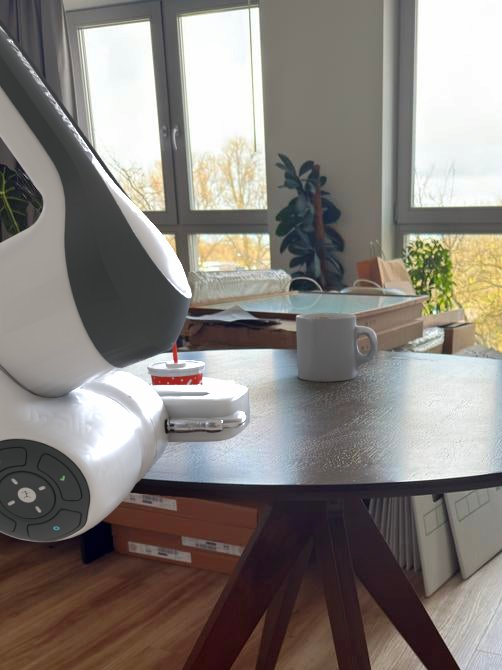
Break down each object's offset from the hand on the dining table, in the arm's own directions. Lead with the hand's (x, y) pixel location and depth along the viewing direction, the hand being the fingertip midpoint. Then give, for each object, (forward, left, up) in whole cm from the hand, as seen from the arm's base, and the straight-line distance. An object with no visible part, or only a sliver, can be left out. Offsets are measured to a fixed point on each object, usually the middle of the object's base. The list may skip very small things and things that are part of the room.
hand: (153, 393), depth 70 cm
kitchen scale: (+3, +31, -8) cm, 32 cm away
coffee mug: (+28, +47, -8) cm, 55 cm away
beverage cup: (+2, +10, -8) cm, 13 cm away
